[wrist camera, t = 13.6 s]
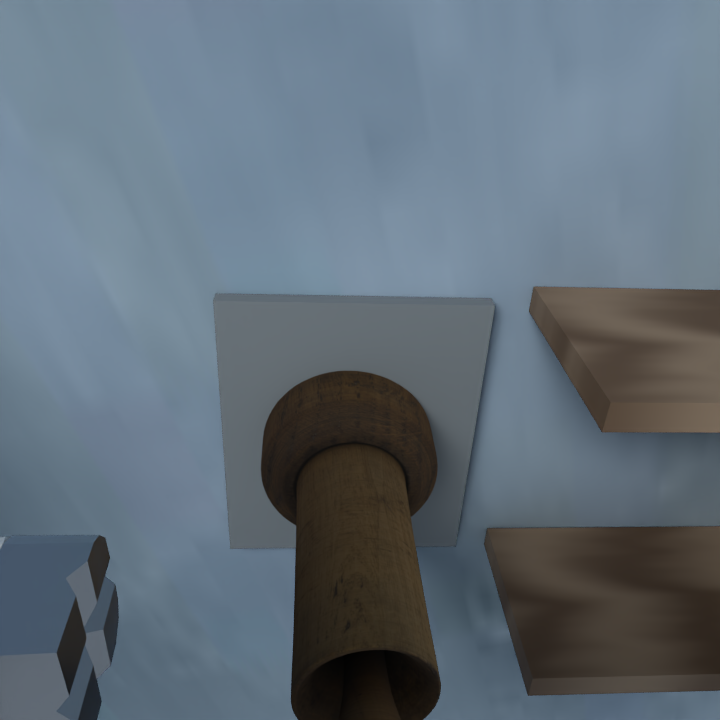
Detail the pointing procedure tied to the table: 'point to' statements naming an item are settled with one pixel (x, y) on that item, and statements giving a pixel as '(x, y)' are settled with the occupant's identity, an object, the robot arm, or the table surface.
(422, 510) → the grey rubber mat
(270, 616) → the table surface
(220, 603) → the table surface
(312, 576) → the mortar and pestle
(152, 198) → the table surface
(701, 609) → the walnut bay
